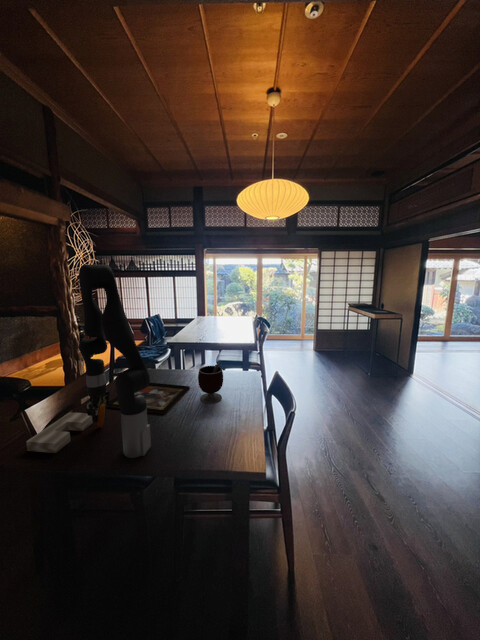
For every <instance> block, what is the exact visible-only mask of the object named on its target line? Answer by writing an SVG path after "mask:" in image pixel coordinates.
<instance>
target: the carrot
mask: <svg viewBox="0 0 480 640" xmlns="http://www.w3.org/2000/svg"><path fill="white" fill-rule="evenodd" d="M99 399H101V396H100V397H99ZM101 402H102V400H101ZM101 402H100V403H101ZM94 407H97V406H94ZM94 412H95V409H94ZM104 421H105V404H104V403H101V404H100V408H99V409H98V422H97V423H96V425H97V427H99V428H102V426H103V425H104Z"/></svg>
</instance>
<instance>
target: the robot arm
mask: <svg viewBox="0 0 480 640" xmlns="http://www.w3.org/2000/svg"><path fill="white" fill-rule="evenodd" d="M78 282H79V288H80V296H81V302H82V307H83V308H82V309H83V316H84V318H83V331H84V332H83V333H84V335H85V336H86V337H89V339H83V340H81V341H80V342H79V343H78V350H79V353H80V355H81V357H82V359H83V360H82V361H83V362H84V365H85V373H86V374H85V377H86V379H85V381H86V382H85V383H86V392H87V396H89V402H88V403H85V404H84V408H85V412H86V413H87V414H88V416H92V421H93V423H94V424H95V423H97V422H98V409H99V408H100V404H101V403H104V404H105V416H107V408H108V407H107V405H108V404H109V401H110V391H108V388H107V387H108V386H107V375H106V372H105V371H106V370H105V361H104V360H103V359H101V358H92V357H91V356H96V355H101V354H104V353H106V352H107V349H108V343H109V344H110V345H111V347H113V348H114V349H115V350H117V351H118V352H119V353H120V354H121V355H123V357H124V359H125V360H126V362H127V365H128V367H129V368H128V369H126V370H122V371H120V372H119V373H117V375H116V376H115V389H116V395H117V396H116V397H117V398H118V404H119V407H120V409H119V410H120V421H121V423H120V424H121V437H122V450H123V455H124V457H126V458H129V459H130V458H131V459H135V458H139V457H144V456H145V455H146V454H147V453H148V451H149V450H150V449H151V447H152V441H151V438H152V437H151V425H150V423H149V424H148V412H147V405H146V400H145V399H143V398H139V397H135V393H136V392H138V391H141V390H143V389H145V388H147V387H148V386H149V384H150V383H151V377H150V374H149V371H148V368H147V366H146V364H145V362H144V360H143V358H142V356H141V353H140V351H139V349H138V346H137V344H136V341H135V338H134V335H133V332H132V330H131V329H132V327H131V326H130V323H129V320H128V317H127V315H126V312H125V310H124V306H123V303H122V300H121V297H120V293H119V289H118V284H117V281H116V277H115V274H114V271H113V269H112V267H111V266H109V265H108V264H83V265H81V266H80V267H79V270H78ZM96 289H97V290H98V289H99V290H101V289H103V290H104V293H105V296H106V297H105V298H106V301H105V302H106V303H105V306H104V309H103V312H102V310H101V308H100V306H98V304H97V302H96V301H95V300H94V296H93V290H96ZM100 396H101V399H99V397H100ZM101 400H102V402H101ZM100 402H101V403H100ZM94 406H97V407H94ZM94 409H95V412H94ZM93 423H92V424H93Z"/></svg>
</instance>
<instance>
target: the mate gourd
mask: <svg viewBox="0 0 480 640" xmlns="http://www.w3.org/2000/svg"><path fill="white" fill-rule="evenodd" d="M221 363H222V360H220V361H218V362H216V364H214V365H206V366H201V367H200V368H199V369H198V375H197V382H198V387H199V389H200V390H201V391H202V392H203V394H202V395H201V396H199V400H200V402H201V403H203V404H206V405H207V404H208V405H209V404H211V405H213V404H217V403H219V402H221V401H222V399H223V396H222V395H221V394H220V393H218V392H219V391H221V389H222V387H223V384H224V372H223V368H222V367H220V364H221Z"/></svg>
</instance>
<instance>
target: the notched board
mask: <svg viewBox="0 0 480 640" xmlns="http://www.w3.org/2000/svg"><path fill="white" fill-rule="evenodd" d="M92 424H93V421H92V416H88V414H87V412H86V413H84V412H68V413H66V414H65V415H63V416H62V417H60V418H58V419H57V420H56V421H55V422H53V423H52V424H50V425H48V426H47V427H45V428H44V429H43V430H41V431H39V432H38V433H37V434H35V435H34V436H32V437H31V438H29V439H28V440H26V449H27V451H28V452H36V453H37V452H39V453H50V454H51V453H52V454H57V453H58V452H60V450H61V449H63V448H64V447H66V445H68V444H69V443H70V442H72V441H71V433H70V431H77V432H84V431H85V430H86V429H88V428H89V426H91V425H92Z"/></svg>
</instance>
